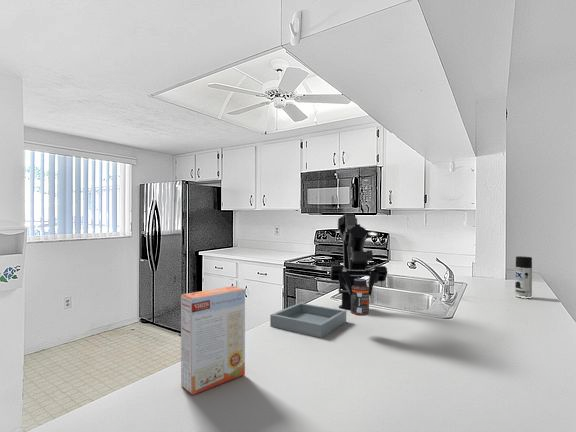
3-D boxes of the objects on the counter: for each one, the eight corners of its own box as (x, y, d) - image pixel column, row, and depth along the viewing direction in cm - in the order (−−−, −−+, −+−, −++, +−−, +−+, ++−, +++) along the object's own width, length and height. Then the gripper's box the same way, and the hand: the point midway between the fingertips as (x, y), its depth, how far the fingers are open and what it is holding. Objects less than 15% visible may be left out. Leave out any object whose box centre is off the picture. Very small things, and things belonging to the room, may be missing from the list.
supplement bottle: (363, 317, 106) (363, 282, 105) (347, 313, 109) (347, 279, 109) (372, 313, 110) (372, 279, 110) (356, 310, 114) (356, 277, 114)
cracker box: (231, 367, 84) (232, 284, 84) (245, 375, 80) (246, 288, 80) (179, 385, 75) (180, 292, 75) (191, 396, 70) (192, 297, 70)
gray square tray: (299, 312, 133) (299, 302, 133) (346, 321, 123) (346, 310, 123) (270, 326, 117) (270, 314, 117) (321, 337, 106) (321, 325, 106)
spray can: (511, 296, 167) (512, 256, 167) (524, 295, 167) (524, 256, 167) (522, 299, 160) (522, 257, 160) (535, 299, 161) (535, 257, 161)
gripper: (331, 241, 114) (333, 280, 103) (386, 242, 113) (394, 281, 102) (329, 261, 122) (331, 299, 111) (381, 262, 121) (388, 300, 110)
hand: (360, 294), depth 108 cm, fingers closed on supplement bottle, 6 cm apart
